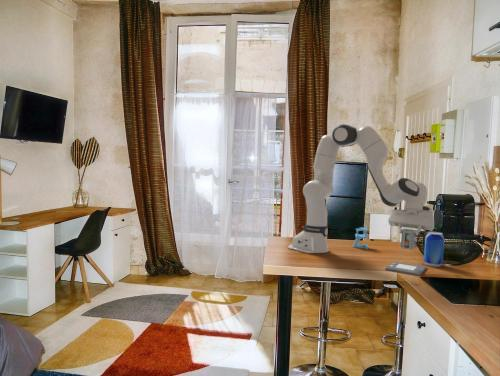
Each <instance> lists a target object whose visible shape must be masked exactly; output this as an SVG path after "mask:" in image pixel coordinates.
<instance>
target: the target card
mask: <svg viewBox="0 0 500 376" xmlns="http://www.w3.org/2000/svg"><path fill="white" fill-rule="evenodd" d="M388 270H389V271H388ZM426 270H427V265H419V264H413V263H406V262H401V261H396V260H393V261H392V262H391V263H389V264H388V265H387V266H385V271H388V272H393V273H394V272H395V273H401V274H406V275H412V276H417V277H421V276H422V274H423V273H424V272H425V271H426Z"/></svg>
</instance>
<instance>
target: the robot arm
mask: <svg viewBox="0 0 500 376" xmlns="http://www.w3.org/2000/svg"><path fill="white" fill-rule="evenodd" d="M354 145H358V146H359V147H360V149H361V150H362V152H363V153H364V155H365V157H366V161H367V166H366V167H367V169H368V173H369V174H370V176H371V179H372V181H373V182H374V184H375V187H376V189H377V190H378V193H379V197H380V199H381V202H382V203H384V205H386V206H387V207H396V206H397V205H399V204H400V203H401V202H403V201H405V205H404V207H403V209H397V208H396V209H392V210H390V213H389V216H388V219H387V220H388V225H390V226H392V227H398V232H399V233H398V234H401V235H402V230H403V229H404V228H406V229H413V230H414V235H415V236H418V234H419V233H420V232H421V231H422V230H427V231H433V230H434V229H435V215H434V210H433V208H431V207H429V206H426V205H425V204H426V203H427V199H428V188H427V186H426V185H425V184H424V183H422V182H418V181H416V182H414V181H413V180H412V179H410V178H407V177H402V178H399V179H398V180H396V181H395V182H393V183H392V184H390V185H389V183H388V180H387V179H386V177H385V174H384V173H383V165H384V163H385V161H386V159H387V157H388V153H389V149H388V146H387V144H386V142H385V141H384V140H383V138H382V137H381V136H380V135H379V133H378V132H377V131H376V130H375V129H374V128H373V127H372V126H370V125H364V126H362V127H359V128H358V129H357V127H354V126H353V125H350V124H339V125H337V126H336V127H334V128H333V130H332V134H325V135H323V136H321V138H320V140H319V143H318V145H317V149H316V152H315V156H314V161H313V166H312V169H313V180H310V181H308V182H307V183H305V184H304V186H303V188H302V194H303V197H304V199H305V204H306V224H304V225H302V227H301V228H302V229H303V230H301V232H299V233H297V234H296V235H295V236H294V237H292V238H293V239H292V242H291V244H289V245H288V246H287V249H290V250H292V251H297V252H301V253H307V254H325V253H329V247H328V238H327V237H328V231H329V230H328V228H329V227H328V209H327V207H326V206H327V205H326V199H328V198H330V197H331V195H333V193H334V186H333V185H334V184H333V183H334V182H333V181H334V180H333V179H334V170H335V165H336V162H337V156H338V152H339V150H340V148H343V147H344V148H345V147H352V146H354ZM415 229H416V230H415Z"/></svg>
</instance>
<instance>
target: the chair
mask: <svg viewBox="0 0 500 376" xmlns="http://www.w3.org/2000/svg"><path fill="white" fill-rule="evenodd" d="M355 231H356V233H355V234H354V235H355V236H354V237H355V239H354V242H353V244H352V246H353V248H357V249H363V250H369V246H368V244H359V243H358V242H359V241H360V240H361V239H368V235H367V233H368V231H369V230H368V228H367V227H363V226H360V227H358V228H355ZM361 231H362V232H364V233H363V234H359V232H361Z"/></svg>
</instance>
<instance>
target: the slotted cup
mask: <svg viewBox="0 0 500 376" xmlns="http://www.w3.org/2000/svg"><path fill="white" fill-rule="evenodd" d="M402 229H403V230H402V234H401V237H400V239H401V240H400V249H403V250H409V251H410V250H411V251H413V250H414V249H415V246H416V245H415V243H416V242H415V241H416V235H414V230H415V229H411V228H402ZM408 235H410V236H409V246H408V247H405V241H407V240H406V237H407V236H408Z"/></svg>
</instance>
